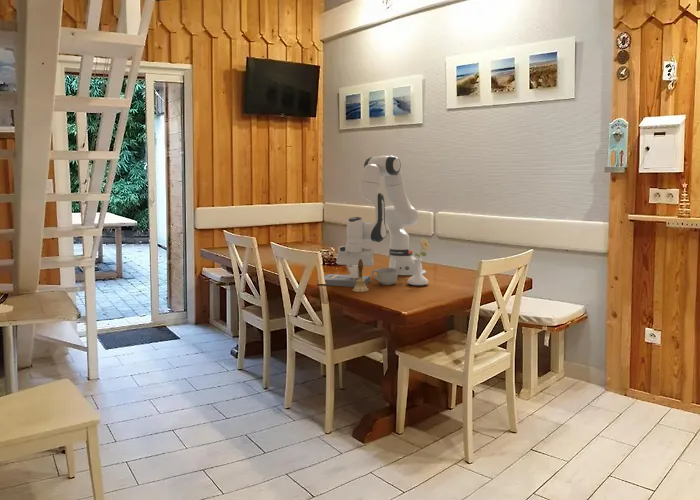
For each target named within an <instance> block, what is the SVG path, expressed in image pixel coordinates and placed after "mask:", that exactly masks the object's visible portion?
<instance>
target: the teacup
mask: <svg viewBox="0 0 700 500" xmlns="http://www.w3.org/2000/svg"><path fill="white" fill-rule="evenodd" d="M374 273H376V275H377V276H376V275H375V274H374ZM397 274H398V270H397V269H395V268H389V267H380V268H377V269H373V270H372V271H371V277H373V278H374V279H376V281H377V282H379V283H380V284H381V285H384V286H391V285H395V283H397V281H398V275H397Z"/></svg>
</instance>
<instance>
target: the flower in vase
mask: <svg viewBox="0 0 700 500" xmlns="http://www.w3.org/2000/svg"><path fill="white" fill-rule="evenodd" d="M419 244H420V247H421V249H420V253H417V252H415V253H414V257H415V256H416V257H417V258H416V259H413V260H414V262H415V265H416V271H415V274H414V275H410V277H409V278H408V279H407V281H406V282H407V284H408V285H412V286H416V287H417V286H426V285H428V284H429V279H427V278H426V277H425V276H424V274H423V275H422V274H421V273H420V264H422V261H423V258H421V256H422V257H427V255H428V254H427V253H426V252H430V251H431V247H432V245H431V244H430V243H429V240H428V239H426V238H425V237H422V238H420V241H419ZM424 251H425V252H424Z"/></svg>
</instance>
